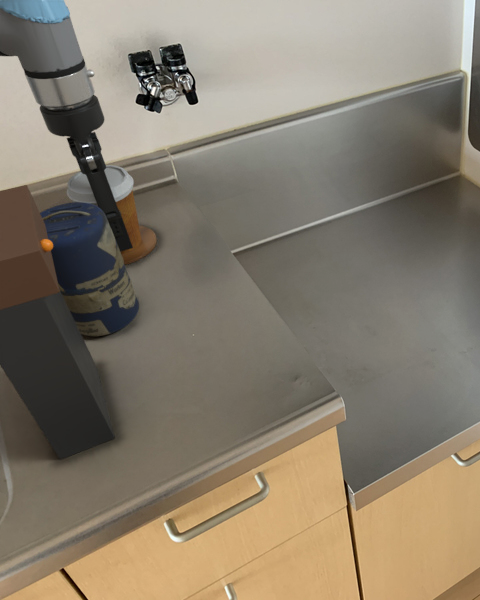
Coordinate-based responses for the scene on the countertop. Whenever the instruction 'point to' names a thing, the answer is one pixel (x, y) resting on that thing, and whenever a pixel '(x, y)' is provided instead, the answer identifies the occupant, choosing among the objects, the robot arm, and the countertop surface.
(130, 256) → the cork coaster
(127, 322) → the canister
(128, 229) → the disposable coffee cup
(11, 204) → the wood-topped grey pedestal
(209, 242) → the countertop surface
